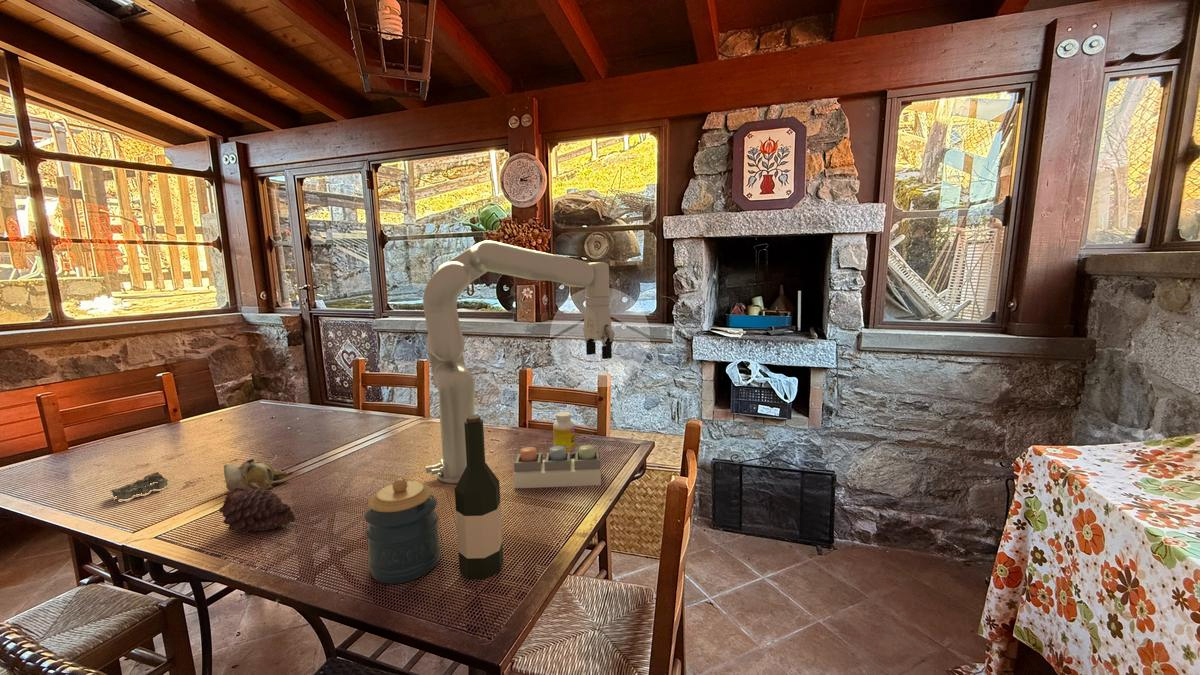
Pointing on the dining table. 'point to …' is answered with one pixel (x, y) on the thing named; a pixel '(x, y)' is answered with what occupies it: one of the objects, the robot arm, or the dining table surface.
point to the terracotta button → (528, 454)
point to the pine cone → (255, 510)
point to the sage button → (586, 452)
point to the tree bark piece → (140, 486)
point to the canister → (402, 532)
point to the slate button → (557, 453)
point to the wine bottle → (478, 509)
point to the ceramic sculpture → (252, 475)
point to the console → (557, 472)
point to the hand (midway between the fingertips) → (598, 356)
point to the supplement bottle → (564, 432)
